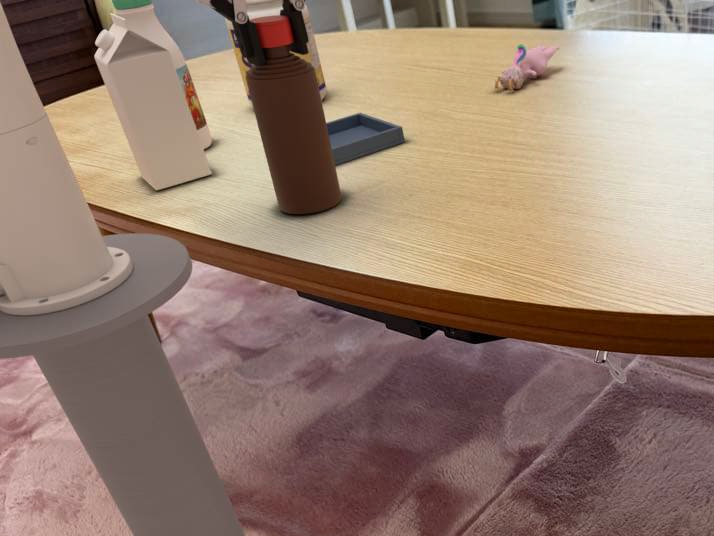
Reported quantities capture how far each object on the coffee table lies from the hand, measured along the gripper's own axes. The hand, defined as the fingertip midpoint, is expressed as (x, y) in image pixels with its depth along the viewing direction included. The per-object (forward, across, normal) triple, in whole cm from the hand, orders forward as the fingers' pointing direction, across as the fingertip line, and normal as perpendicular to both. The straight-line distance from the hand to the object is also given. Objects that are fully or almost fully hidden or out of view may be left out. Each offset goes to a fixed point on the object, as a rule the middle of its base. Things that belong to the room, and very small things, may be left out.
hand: (278, 56), depth 82 cm
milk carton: (+16, -8, +24) cm, 30 cm away
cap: (-3, 0, 0) cm, 3 cm away
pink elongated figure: (+16, +46, +18) cm, 52 cm away
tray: (+16, +11, +15) cm, 24 cm away
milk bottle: (+16, -3, +35) cm, 39 cm away
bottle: (+15, -1, 0) cm, 16 cm away
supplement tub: (+16, +17, +43) cm, 49 cm away
